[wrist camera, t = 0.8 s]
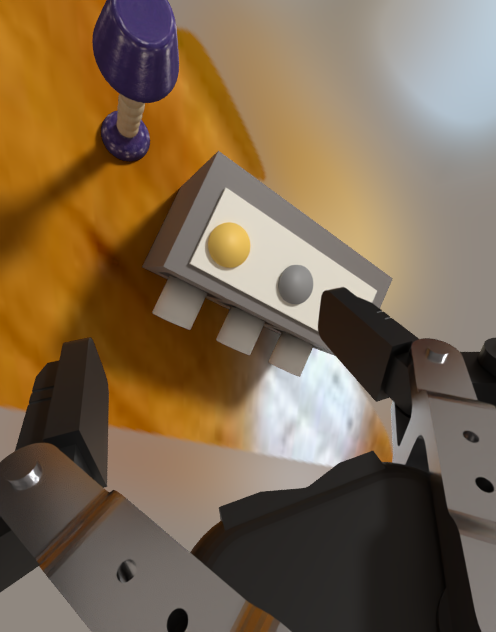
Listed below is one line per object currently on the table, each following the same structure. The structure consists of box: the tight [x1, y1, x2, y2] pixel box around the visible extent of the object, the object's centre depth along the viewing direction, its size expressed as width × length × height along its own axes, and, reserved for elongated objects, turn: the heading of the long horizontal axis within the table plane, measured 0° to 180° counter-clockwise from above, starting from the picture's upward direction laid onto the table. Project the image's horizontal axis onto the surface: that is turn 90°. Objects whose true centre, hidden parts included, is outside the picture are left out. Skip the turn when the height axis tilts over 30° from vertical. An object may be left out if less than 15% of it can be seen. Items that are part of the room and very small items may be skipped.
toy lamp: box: [93, 0, 179, 161], centre depth 23 cm, size 5×5×17 cm
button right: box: [269, 332, 313, 377], centre depth 34 cm, size 4×6×4 cm, turn 152°
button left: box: [152, 276, 207, 330], centre depth 28 cm, size 4×6×4 cm, turn 152°
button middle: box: [216, 307, 265, 355], centre depth 31 cm, size 4×6×4 cm, turn 152°
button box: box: [142, 151, 392, 356], centre depth 32 cm, size 20×9×12 cm, turn 62°
